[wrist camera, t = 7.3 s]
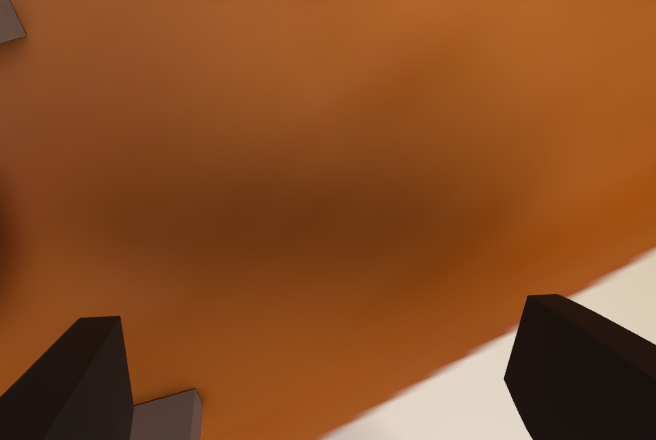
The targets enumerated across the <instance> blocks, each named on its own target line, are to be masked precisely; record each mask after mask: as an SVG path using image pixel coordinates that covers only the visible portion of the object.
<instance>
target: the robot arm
mask: <svg viewBox="0 0 656 440" xmlns="http://www.w3.org/2000/svg"><path fill="white" fill-rule="evenodd" d="M504 381H505V383H506V385H507V387H508V390H509V392H510V394H511V397H512V399H513V401H514V403H515V406H516V408H517V410H518V412H519V414H520V416H521V419H522V420H523V423H524V425H525V427H526V429H527V431H528V432H529V434H530V436H531V437H532V439H533V440H656V345H655V344H653V343H651V342H650V341H648V340H646V339H644V338H642V337H640V336H638V335H637V334H635V333H633V332H631V331H629V330H627V329H626V328H624V327H622V326H620V325H618V324H616V323H615V322H613V321H611V320H609V319H607V318H605V317H603V316H601V315H600V314H597V313H596V312H594V311H592V310H590V309H588V308H586V307H584V306H582V305H580V304H578V303H576V302H574V301H572V300H570V299H567V298H565V297H563V296H561V295H558V294H548V295H528V296H527V300H526V303H525V306H524V310H523V313H522V317H521V320H520V324H519V327H518V331H517V334H516V338H515V341H514V345H513V348H512V352H511V355H510V359H509V362H508V366H507V369H506V373H505V376H504ZM133 413H134V405H133V398H132V392H131V385H130V378H129V371H128V365H127V358H126V351H125V344H124V338H123V331H122V324H121V317H120V316H108V317H88V318H79V319H78V320H77V321H76V322H75V323H74V324H73V325H72V326H71V327H70V328H69V329H68V330H67V331H66V332H65V333H64V334H63V335H62V336H61V337H60V338H59V339H58V340H57V341H56V342H55V343H54V344H53V345H52V346H51V347H50V348H49V349H48V350H47V351H46V352H45V353H44V354H43V355H42V356H41V357H40V358H39V359H38V360H37V361H36V362H35V363H34V364H33V365H32V366H31V367H30V368H29V369H28V370H27V371H26V372H25V373H24V374H23V375H22V376H21V377H20V378H19V379H18V380H17V381H16V382H15V383H14V384H13V385H12V386H11V387H10V388H9V389H8V390H7V391H6V392H5V393H4V394H3V395H2V396H1V397H0V440H130V434H131V427H132V420H133Z"/></svg>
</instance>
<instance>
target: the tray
mask: <svg viewBox="0 0 656 440" xmlns="http://www.w3.org/2000/svg"><path fill="white" fill-rule="evenodd" d="M23 36H26V34H25V31H24V29H23V27H22V25H21V23H20V21H19V19H18V17H17V15H16V13H15V10H14V8H13V6H12V4H11V2H10V0H3V1H0V43H3V42H6V41H10V40H13V39H16V38H20V37H23ZM202 407H203V404H202V402H201V400H200V398H199V396H198V394H197V392H196V389H193V390H189V391H186V392H182V393H179V394H175V395H172V396H168V397H165V398H161V399H158V400H154V401H151V402H147V403H144V404H140V405H137V406H134V413H133V420H132V427H131V434H130V440H200V432H201V420H202Z"/></svg>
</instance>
